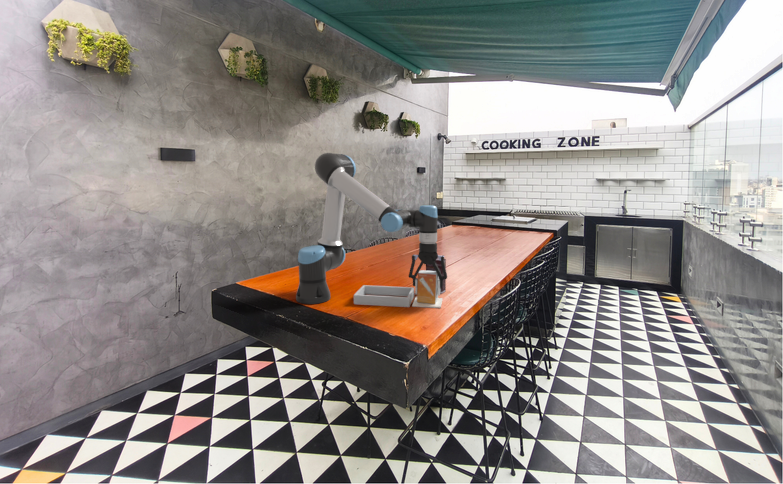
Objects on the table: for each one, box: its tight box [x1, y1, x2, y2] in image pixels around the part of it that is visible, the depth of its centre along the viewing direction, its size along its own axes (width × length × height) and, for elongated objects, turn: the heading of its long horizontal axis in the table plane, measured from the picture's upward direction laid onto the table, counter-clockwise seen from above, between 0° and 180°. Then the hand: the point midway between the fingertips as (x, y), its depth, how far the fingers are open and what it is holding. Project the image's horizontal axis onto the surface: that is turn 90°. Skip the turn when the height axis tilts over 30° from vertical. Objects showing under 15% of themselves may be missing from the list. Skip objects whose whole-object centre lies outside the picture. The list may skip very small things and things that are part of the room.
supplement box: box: [425, 258, 447, 294], centre depth 181 cm, size 9×5×16 cm, turn 62°
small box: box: [416, 269, 439, 304], centre depth 164 cm, size 8×6×13 cm
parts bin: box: [353, 284, 415, 308], centre depth 170 cm, size 24×16×4 cm, turn 79°
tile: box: [411, 296, 443, 309], centre depth 165 cm, size 12×12×1 cm
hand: (427, 294), depth 165 cm, fingers open, 9 cm apart
